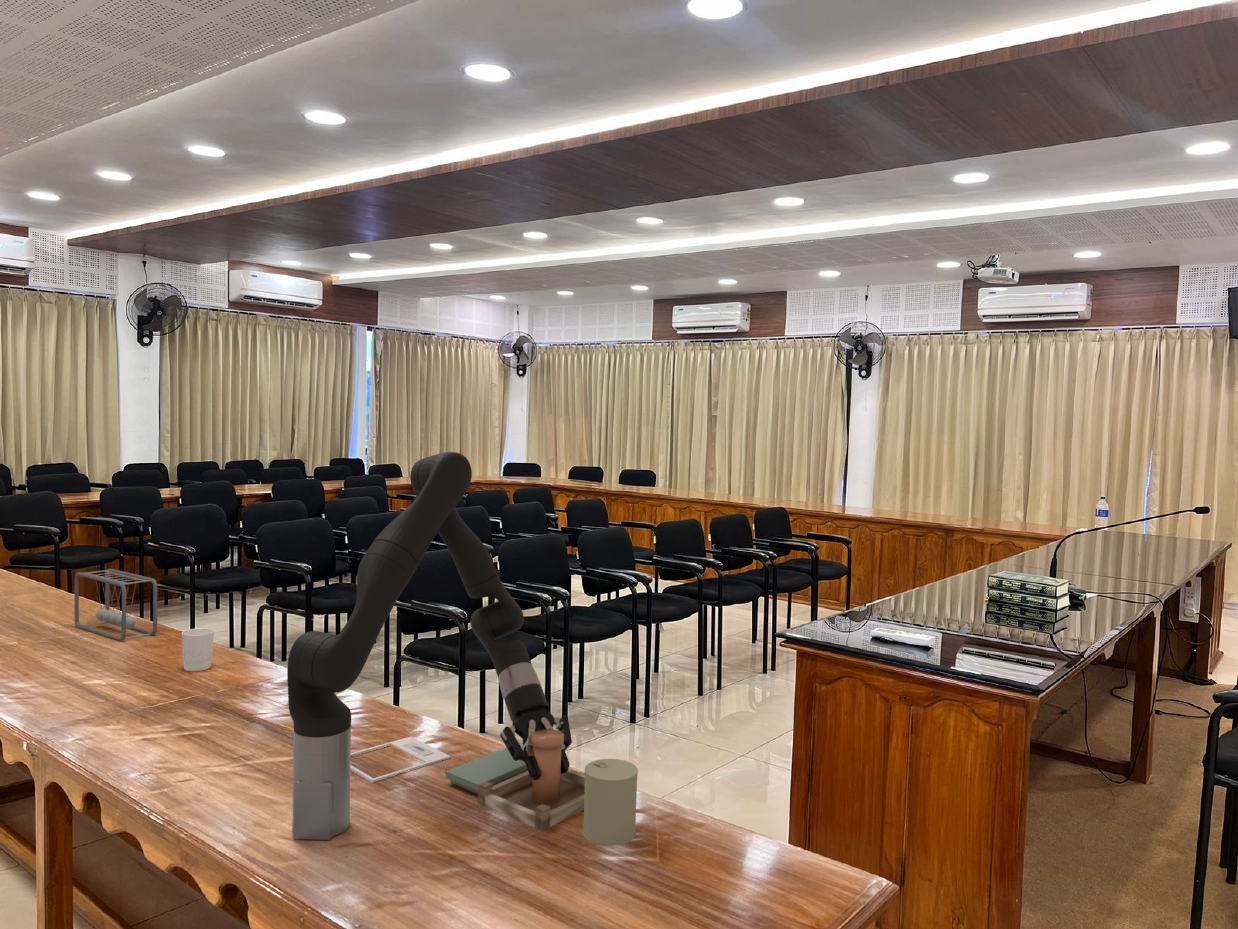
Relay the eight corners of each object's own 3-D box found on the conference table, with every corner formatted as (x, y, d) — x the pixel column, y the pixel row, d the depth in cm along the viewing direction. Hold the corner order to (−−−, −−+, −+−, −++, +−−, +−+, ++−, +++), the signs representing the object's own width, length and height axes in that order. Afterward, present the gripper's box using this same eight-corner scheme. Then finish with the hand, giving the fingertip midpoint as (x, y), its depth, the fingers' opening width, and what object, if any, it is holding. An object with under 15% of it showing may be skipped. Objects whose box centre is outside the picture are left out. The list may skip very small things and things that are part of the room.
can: (606, 817, 154) (608, 751, 153) (647, 834, 148) (649, 766, 147) (570, 836, 146) (573, 766, 146) (612, 854, 141) (614, 782, 140)
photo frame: (450, 755, 178) (372, 779, 165) (450, 760, 178) (371, 785, 165) (411, 735, 188) (334, 756, 175) (410, 740, 188) (334, 762, 175)
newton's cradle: (157, 636, 266) (158, 579, 265) (122, 643, 257) (123, 584, 256) (108, 621, 282) (108, 567, 281) (73, 627, 273) (73, 571, 272)
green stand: (537, 774, 171) (538, 759, 171) (478, 800, 159) (478, 784, 158) (505, 762, 177) (505, 747, 177) (445, 786, 164) (445, 771, 164)
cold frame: (611, 797, 162) (612, 776, 162) (542, 833, 147) (543, 810, 147) (548, 773, 172) (549, 754, 171) (477, 805, 156) (478, 784, 156)
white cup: (181, 665, 236) (182, 629, 236) (213, 662, 239) (213, 627, 239) (180, 673, 229) (180, 636, 228) (213, 670, 232) (213, 634, 232)
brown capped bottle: (560, 806, 156) (562, 741, 155) (527, 805, 156) (529, 740, 156) (563, 792, 162) (565, 729, 161) (531, 791, 162) (533, 728, 162)
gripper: (495, 688, 160) (524, 774, 151) (561, 677, 168) (593, 758, 159) (482, 707, 165) (509, 792, 156) (547, 696, 173) (577, 776, 164)
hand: (551, 774), depth 157 cm, fingers closed on brown capped bottle, 5 cm apart
